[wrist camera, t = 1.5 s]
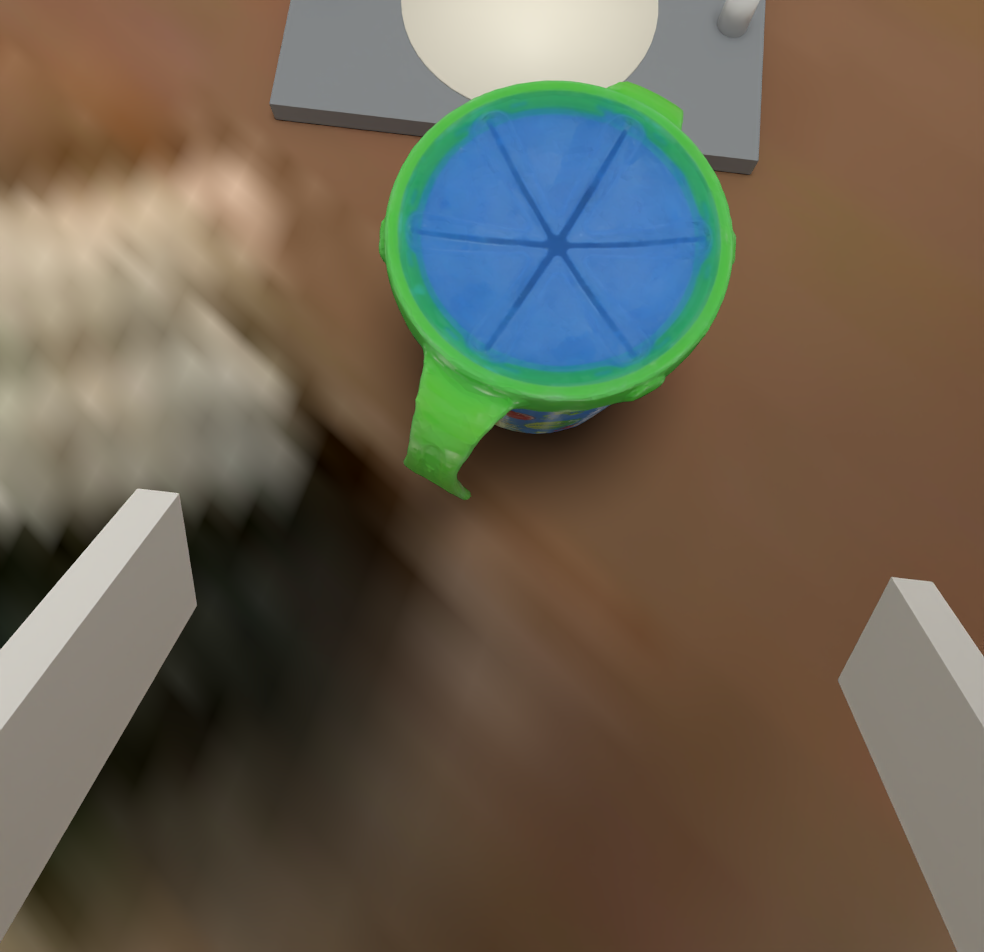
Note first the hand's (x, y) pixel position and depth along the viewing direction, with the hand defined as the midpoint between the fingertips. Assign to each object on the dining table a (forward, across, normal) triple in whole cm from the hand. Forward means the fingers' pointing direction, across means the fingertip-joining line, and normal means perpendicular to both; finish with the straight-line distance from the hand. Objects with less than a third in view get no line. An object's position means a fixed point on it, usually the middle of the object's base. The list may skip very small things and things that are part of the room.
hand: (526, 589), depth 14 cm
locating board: (+31, -2, +9) cm, 32 cm away
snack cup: (+19, 0, -3) cm, 19 cm away
